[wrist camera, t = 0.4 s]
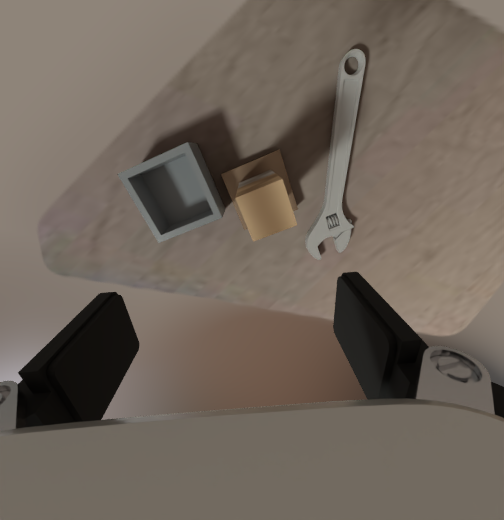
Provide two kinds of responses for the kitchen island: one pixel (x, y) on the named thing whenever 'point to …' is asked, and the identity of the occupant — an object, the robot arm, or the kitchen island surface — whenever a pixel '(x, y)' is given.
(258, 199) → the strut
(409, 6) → the kitchen island surface
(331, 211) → the adjustable wrench
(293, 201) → the stud plate
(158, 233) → the bin
